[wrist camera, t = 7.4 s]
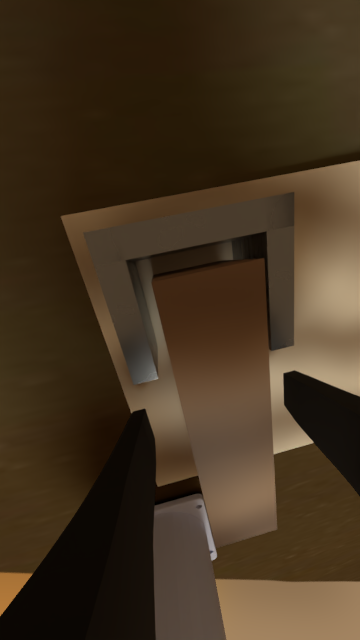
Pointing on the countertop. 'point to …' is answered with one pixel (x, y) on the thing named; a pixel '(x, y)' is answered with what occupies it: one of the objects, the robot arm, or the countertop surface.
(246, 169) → the countertop surface
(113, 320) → the bracket
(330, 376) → the mounting board
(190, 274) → the rail
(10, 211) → the countertop surface
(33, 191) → the countertop surface
